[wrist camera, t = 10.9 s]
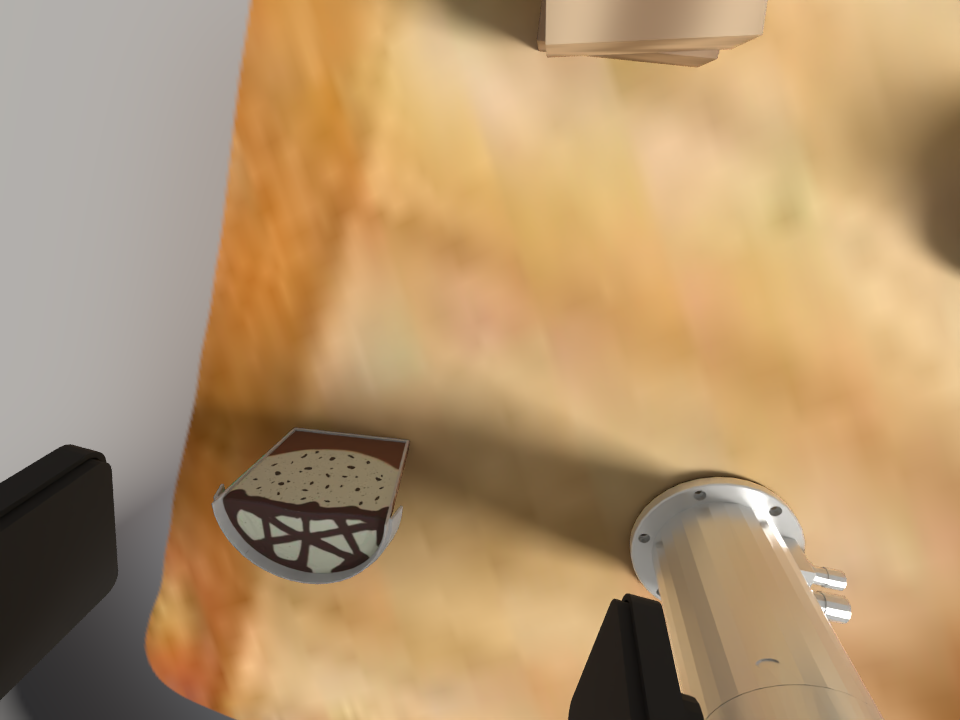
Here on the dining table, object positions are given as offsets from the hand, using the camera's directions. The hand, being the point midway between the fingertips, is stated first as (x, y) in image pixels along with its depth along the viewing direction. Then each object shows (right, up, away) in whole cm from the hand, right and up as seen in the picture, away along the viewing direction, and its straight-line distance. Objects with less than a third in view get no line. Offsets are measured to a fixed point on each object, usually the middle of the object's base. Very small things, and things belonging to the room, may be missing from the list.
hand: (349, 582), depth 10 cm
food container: (-8, -5, +35) cm, 36 cm away
